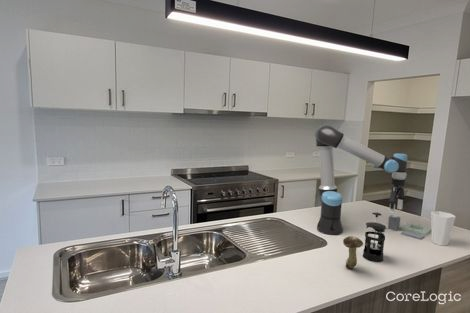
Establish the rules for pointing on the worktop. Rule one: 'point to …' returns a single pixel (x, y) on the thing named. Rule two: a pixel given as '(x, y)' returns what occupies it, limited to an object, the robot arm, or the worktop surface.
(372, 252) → the french press
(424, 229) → the outlet plate
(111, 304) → the worktop surface
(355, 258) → the mushroom
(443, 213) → the cup
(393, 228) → the block
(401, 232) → the phone
